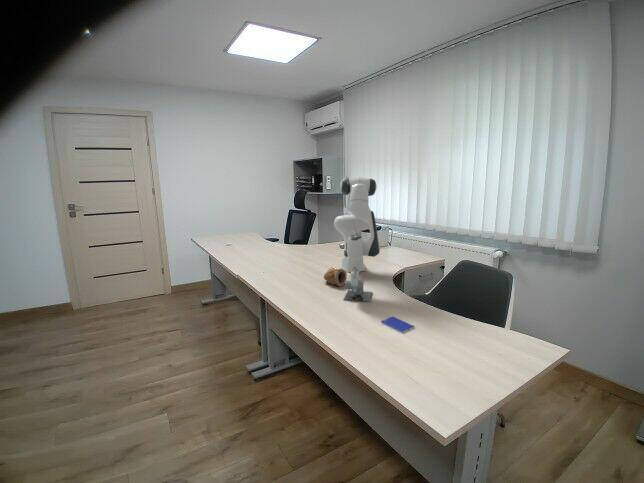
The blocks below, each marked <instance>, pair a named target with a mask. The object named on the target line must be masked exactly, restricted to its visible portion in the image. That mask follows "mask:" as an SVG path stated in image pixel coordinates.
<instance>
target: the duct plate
mask: <svg viewBox="0 0 644 483" xmlns="http://www.w3.org/2000/svg"><path fill="white" fill-rule="evenodd" d="M372 296H373V291H365V290H363V295H359V294H352V290H349V289H347V293H345V296H344V297H343V301H350V302H361V303H362V302H363V303H370V302H371V299H372Z"/></svg>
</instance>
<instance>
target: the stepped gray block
mask: <svg viewBox="0 0 644 483" xmlns="http://www.w3.org/2000/svg"><path fill="white" fill-rule="evenodd" d="M344 290H352V294H359V295H363V291H364V280H363V279H358V287H357V291H356V292H353V287H352V286H351V280H346V281H345V284H344Z"/></svg>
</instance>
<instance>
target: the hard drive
mask: <svg viewBox="0 0 644 483" xmlns="http://www.w3.org/2000/svg"><path fill="white" fill-rule="evenodd" d="M380 324H382V325H383V326H384V325H385V326H387V327H388V328H391V329H392V330H395V331H396V332H399V333H400V334H403V333H406V332H408V331H411V330H413V329H415V325H412V324H410V323H408V322H406V321H403V320H401V319H399V318H397V317H395V316H391V317H387V318H386V319H385V318H384V319H383V320H381V321H380Z"/></svg>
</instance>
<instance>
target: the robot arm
mask: <svg viewBox="0 0 644 483" xmlns="http://www.w3.org/2000/svg"><path fill="white" fill-rule="evenodd" d="M339 184H340V185H339V190H340V191H341V193H342V194H343V195H345V196H346V204H345V205H346V210H347V211H348V212H349V213H350V214H344V215H338V216H336V217H335V218H334V221H333V226H334V228H335V230H337V232H339V233H340V234H341V235H342V238H343V242H344V243H343V244H344V250H343V256H342V257H341V266H339V268H338V269H343V270H345V272H346V273H350V281H351V286H352V287H353V292H356V291H357V287H358V280H360V279H359V278H360V277H359V276H360V275H359V274H360V272H364V271H365V272H366V271H367V269H366V264H365V263H364V256H365V257H373V258H375V257H377V256H378V255H379V254H380V252H381V243H380V241H379V237H378V236H379V235H378V230H377V229H378V228H377V223H376V222H377V221H376V216H375V214H374V211H373V210H371V208H370V205H369V202H370V201H369V197H372V196H374V195H375V194H376V191H377V188H378V187H377V182H376V180H375V179H374V178H373V179H372V178H367V177H344V178H342V179H341V181H340V183H339ZM366 230H369V235H370V238H363V237H362V235H360V234H356V233H355V234H353V232H359V231H360V232H361V231H366Z"/></svg>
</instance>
